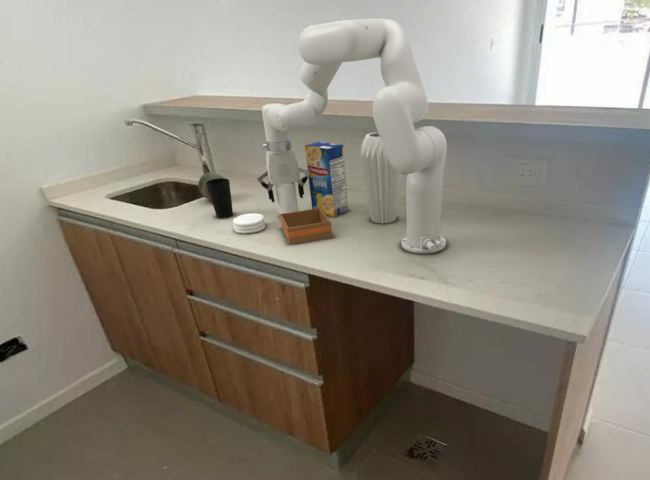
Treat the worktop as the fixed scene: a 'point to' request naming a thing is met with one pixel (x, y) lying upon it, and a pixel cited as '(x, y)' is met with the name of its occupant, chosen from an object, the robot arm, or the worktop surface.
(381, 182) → the vase
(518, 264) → the worktop surface
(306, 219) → the wooden box
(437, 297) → the worktop surface
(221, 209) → the cup
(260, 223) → the white round disc
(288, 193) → the can
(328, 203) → the beverage box
